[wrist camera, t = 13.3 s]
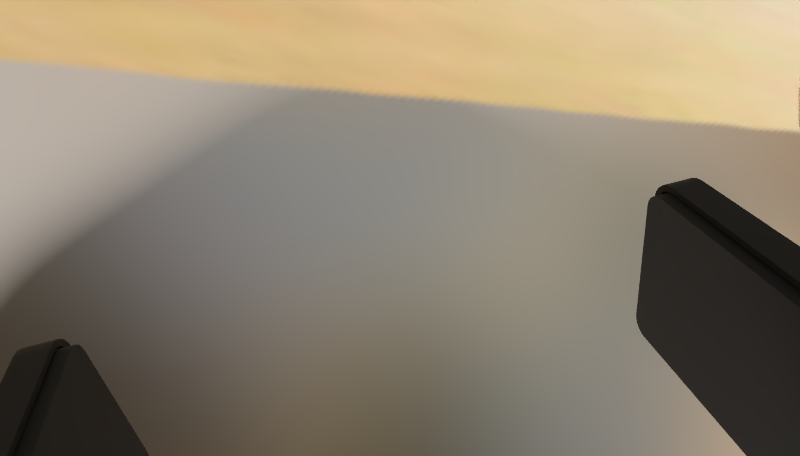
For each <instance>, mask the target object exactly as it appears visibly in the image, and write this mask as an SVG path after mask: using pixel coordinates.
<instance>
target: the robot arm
mask: <svg viewBox="0 0 800 456" xmlns="http://www.w3.org/2000/svg"><path fill="white" fill-rule="evenodd" d="M798 119H799V128H800V82H799V96H798ZM644 237H645V238H644V246H643V256H642V265H641V275H640V284H639V294H638V304H637V314H636V318H637V323H638V326H639V329H640V331H641V333H642V334H643V336H644V337H645V338H646V339H647V340H648V341H649V343H650V344H651V345H652V346H653V347H654V349H655V350H656V351H657V352H658V353H659V354H660V356H661V357H662V358H663V359H664V360H665V361H666V362H667V364H668V365H669V366H670V367H671V368H672V369H673V371H674V372H675V373H676V374H677V375H678V377H679V378H680V379H681V380H682V381H683V382H684V384H685V385H686V386H687V387H688V388H689V389H690V390H691V392H692V393H693V394H694V395H695V396H696V397H697V399H698V400H699V401H700V402H701V403H702V404H703V406H704V407H705V408H706V409H707V410H708V411H709V413H710V414H711V415H712V416H713V417H714V418H715V419H716V421H717V422H718V423H719V424H720V425H721V426H722V428H723V429H724V430H725V431H726V432H727V434H728V435H729V436H730V437H731V438H732V439H733V440H734V442H735V443H736V444H737V445H738V446H739V447H740V449H741V450H742V451H743V452H744V453H745V454H746V455H747V456H800V246H798V245H797V244H795V243H793V242H792V241H791V240H789V239H788V238H786V237H785V236H783V235H782V234H780V233H779V232H777V231H776V230H774V229H773V228H771V227H770V226H768V225H767V224H766V223H764V222H763V221H761V220H760V219H758V218H757V217H755V216H754V215H752V214H751V213H749V212H748V211H746V210H745V209H743V208H742V207H740V206H739V205H737V204H736V203H734V202H733V201H731V200H730V199H728V198H727V197H725V196H724V195H722V194H721V193H719V192H718V191H717V190H715V189H714V188H712V187H711V186H709V185H708V184H706V183H705V182H703V181H701V180H700V179H697V178H690V179H686V180H682V181H678V182H674V183H670V184H666V185H662V186H661V187H659V188H658V190H657V191H656V194H655V196H654V197H652V198H651V199H650V200H649V202H648V208H647V217H646V227H645V236H644ZM0 456H149V455H148V453H147V451H146V449H145V447H144V446H143V444H142V443H141V441H140V439H139V438H138V436H137V435H136V433H135V431H134V430H133V428H132V426H131V425H130V423H129V422H128V420H127V418H126V417H125V415H124V414H123V412H122V410H121V409H120V407H119V405H118V404H117V402H116V401H115V399H114V397H113V396H112V394H111V392H110V391H109V389H108V388H107V386H106V384H105V383H104V381H103V380H102V378H101V376H100V375H99V373H98V371H97V370H96V368H95V367H94V365H93V364H92V362H91V360H90V358H89V357H88V355H87V354H86V352H85V351H84V349H83V348H82V347H81V346H80V345H72V346H71V345H70V344H69V343H68V342H67V341H65V340H64V339H57V340H52V341H48V342H45V343H41V344H37V345H33V346H29V347H25V348H21V349H20V350H18V351H17V352H16V353H15V355H14V356H13V358H12V361H11V362H10V365H9V367H8V369H7V371H6V373H5V375H4V377H3V379H2V381H1V383H0Z"/></svg>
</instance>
